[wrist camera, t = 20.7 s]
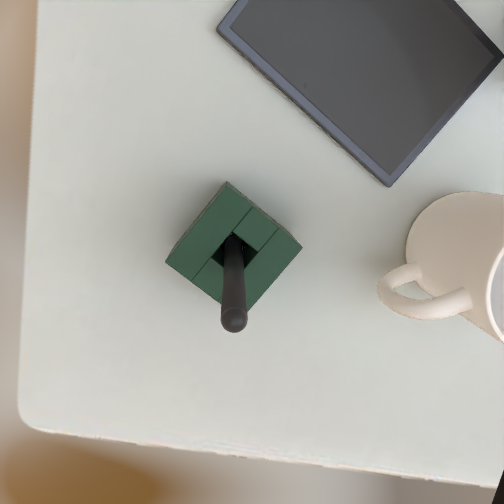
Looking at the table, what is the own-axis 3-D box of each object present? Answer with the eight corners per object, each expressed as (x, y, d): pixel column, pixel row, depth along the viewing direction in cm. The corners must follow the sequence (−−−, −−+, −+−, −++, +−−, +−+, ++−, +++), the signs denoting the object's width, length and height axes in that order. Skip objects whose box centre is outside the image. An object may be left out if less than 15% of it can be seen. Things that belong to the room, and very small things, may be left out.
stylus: (221, 242, 34) (214, 327, 20) (232, 230, 33) (232, 308, 20) (234, 252, 34) (236, 342, 21) (245, 240, 34) (253, 323, 20)
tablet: (216, 31, 30) (215, 27, 29) (332, -124, 28) (335, -132, 28) (386, 187, 33) (390, 187, 33) (499, 57, 32) (506, 55, 31)
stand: (173, 247, 33) (164, 262, 29) (226, 180, 33) (227, 184, 28) (239, 297, 35) (241, 319, 30) (292, 235, 34) (303, 247, 29)
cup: (516, 277, 36) (647, 332, 25) (369, 325, 36) (434, 400, 25) (498, 175, 34) (634, 183, 23) (342, 226, 34) (400, 259, 23)
